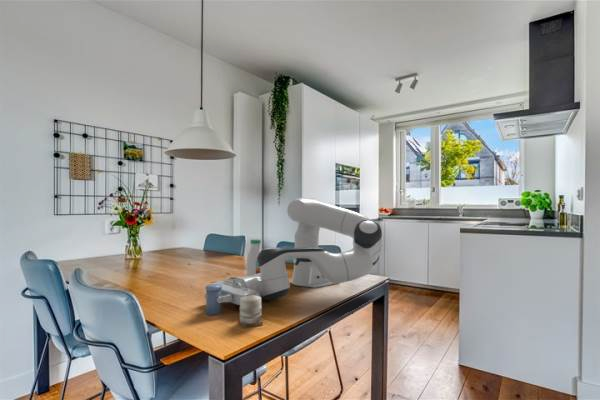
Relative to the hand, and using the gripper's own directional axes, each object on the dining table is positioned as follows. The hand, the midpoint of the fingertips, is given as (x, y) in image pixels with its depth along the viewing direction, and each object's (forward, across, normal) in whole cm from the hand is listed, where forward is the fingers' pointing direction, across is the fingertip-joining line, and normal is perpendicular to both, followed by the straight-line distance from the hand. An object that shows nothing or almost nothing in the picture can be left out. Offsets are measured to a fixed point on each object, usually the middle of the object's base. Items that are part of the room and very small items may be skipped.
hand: (211, 298), depth 101 cm
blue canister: (-1, 0, -5) cm, 5 cm away
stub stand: (-3, -16, -5) cm, 17 cm away
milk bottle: (-36, +18, -5) cm, 40 cm away
